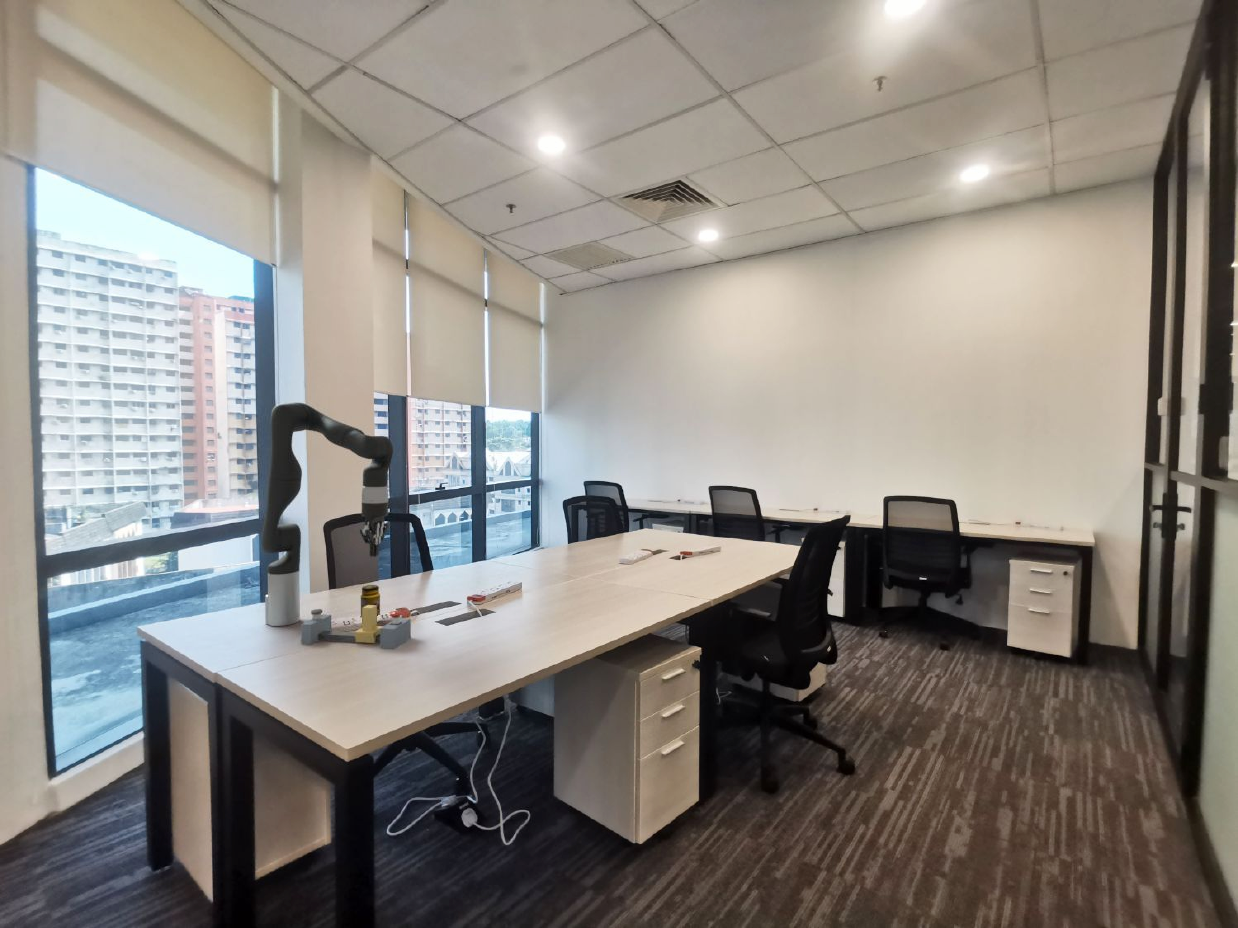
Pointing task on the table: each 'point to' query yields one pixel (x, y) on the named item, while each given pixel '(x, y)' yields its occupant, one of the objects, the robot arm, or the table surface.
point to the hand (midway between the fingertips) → (374, 555)
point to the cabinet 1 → (315, 626)
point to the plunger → (395, 617)
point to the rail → (341, 637)
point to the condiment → (370, 597)
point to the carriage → (368, 625)
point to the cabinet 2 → (395, 634)
